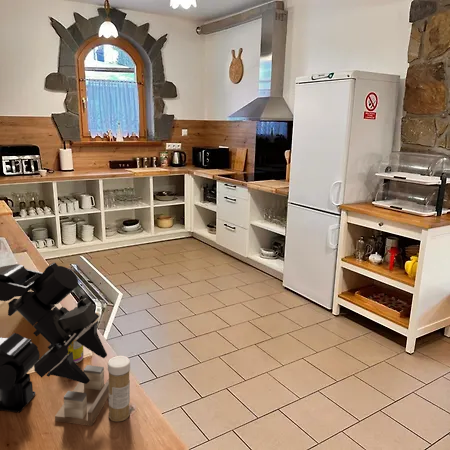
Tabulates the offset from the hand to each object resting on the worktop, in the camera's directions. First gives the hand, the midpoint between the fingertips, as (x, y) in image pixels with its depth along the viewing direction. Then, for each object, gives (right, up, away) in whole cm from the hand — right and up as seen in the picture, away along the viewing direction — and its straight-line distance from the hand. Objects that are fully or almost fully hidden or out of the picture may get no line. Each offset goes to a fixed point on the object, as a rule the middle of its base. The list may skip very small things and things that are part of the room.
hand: (97, 368), depth 89 cm
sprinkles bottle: (+4, -11, +2) cm, 12 cm away
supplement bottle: (-13, -5, +21) cm, 26 cm away
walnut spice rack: (-4, -10, +5) cm, 12 cm away
